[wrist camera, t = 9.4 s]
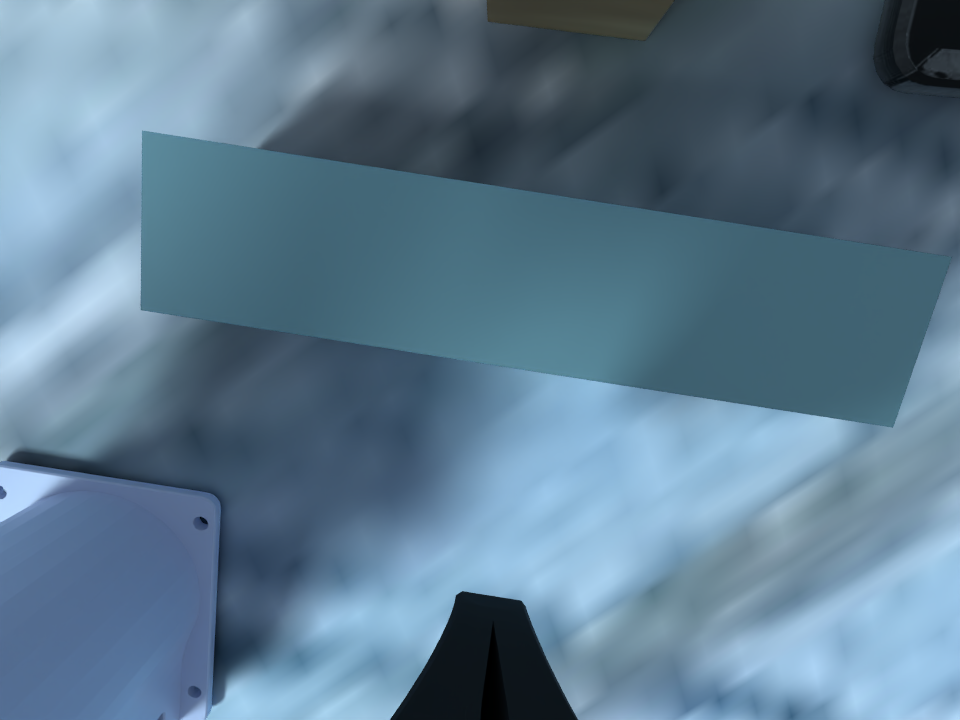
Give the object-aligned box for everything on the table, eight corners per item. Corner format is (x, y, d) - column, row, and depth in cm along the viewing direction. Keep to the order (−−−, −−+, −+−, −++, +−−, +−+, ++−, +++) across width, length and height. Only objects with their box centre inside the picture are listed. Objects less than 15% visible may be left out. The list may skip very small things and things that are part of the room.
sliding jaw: (789, 379, 17) (892, 427, 12) (234, 292, 17) (140, 310, 12) (826, 253, 16) (951, 257, 11) (240, 162, 16) (142, 130, 11)
